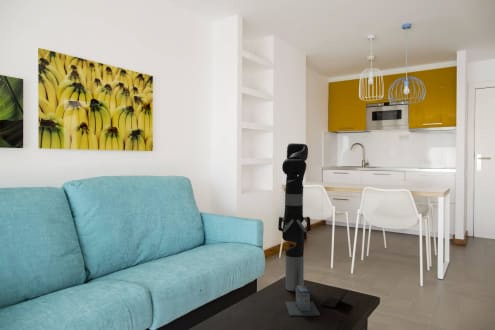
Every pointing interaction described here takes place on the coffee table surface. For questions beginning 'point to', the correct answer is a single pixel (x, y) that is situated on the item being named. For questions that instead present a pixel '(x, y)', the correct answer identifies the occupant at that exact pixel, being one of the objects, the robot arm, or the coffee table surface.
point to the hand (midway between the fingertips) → (294, 240)
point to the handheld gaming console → (332, 302)
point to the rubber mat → (295, 311)
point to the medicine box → (302, 298)
